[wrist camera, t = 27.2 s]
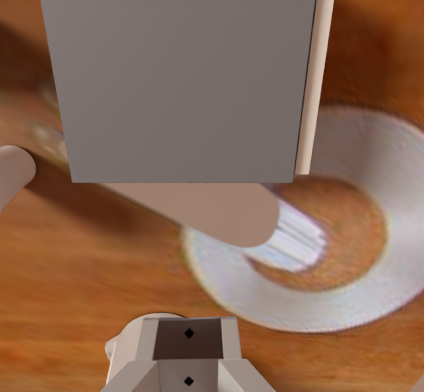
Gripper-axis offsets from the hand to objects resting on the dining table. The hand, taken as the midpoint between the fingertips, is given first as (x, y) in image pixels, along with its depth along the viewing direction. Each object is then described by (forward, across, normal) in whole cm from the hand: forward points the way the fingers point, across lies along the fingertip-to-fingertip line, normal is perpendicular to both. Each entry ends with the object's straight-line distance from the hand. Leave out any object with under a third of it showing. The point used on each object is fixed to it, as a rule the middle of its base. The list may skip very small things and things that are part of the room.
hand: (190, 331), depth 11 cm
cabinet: (+33, +1, -7) cm, 34 cm away
